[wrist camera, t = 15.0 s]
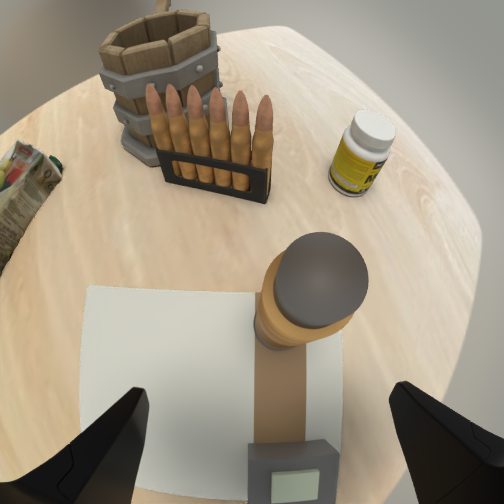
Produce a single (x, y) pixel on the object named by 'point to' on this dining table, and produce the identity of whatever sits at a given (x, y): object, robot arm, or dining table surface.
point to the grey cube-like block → (292, 472)
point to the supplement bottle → (361, 152)
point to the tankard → (158, 69)
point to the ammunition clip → (213, 144)
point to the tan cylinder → (310, 291)
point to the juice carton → (23, 191)
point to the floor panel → (204, 384)
